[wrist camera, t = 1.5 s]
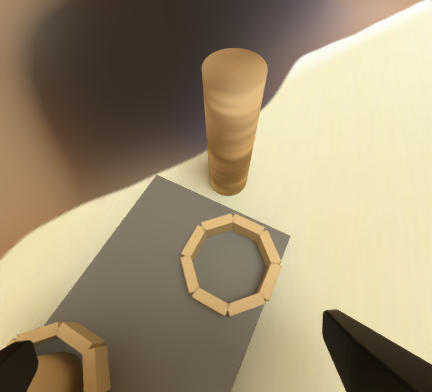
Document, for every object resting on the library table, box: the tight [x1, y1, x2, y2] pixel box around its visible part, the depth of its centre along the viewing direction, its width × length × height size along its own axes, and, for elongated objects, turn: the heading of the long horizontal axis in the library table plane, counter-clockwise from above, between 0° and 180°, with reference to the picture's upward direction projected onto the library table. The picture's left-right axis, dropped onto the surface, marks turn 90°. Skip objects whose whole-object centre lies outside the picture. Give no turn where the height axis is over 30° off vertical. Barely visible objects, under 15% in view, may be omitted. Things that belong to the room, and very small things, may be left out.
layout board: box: [6, 175, 290, 392], centre depth 13 cm, size 15×22×14 cm
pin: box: [202, 48, 268, 196], centre depth 20 cm, size 4×4×13 cm
